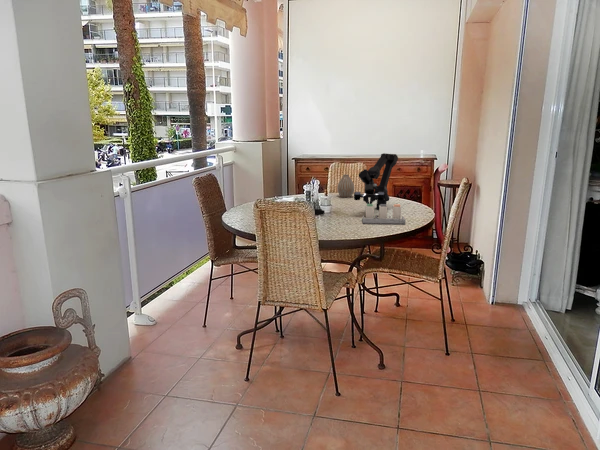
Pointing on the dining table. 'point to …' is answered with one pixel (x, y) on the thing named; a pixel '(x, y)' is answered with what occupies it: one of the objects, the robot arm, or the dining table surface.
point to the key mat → (385, 223)
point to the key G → (369, 210)
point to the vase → (345, 186)
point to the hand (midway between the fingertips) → (369, 207)
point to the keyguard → (383, 220)
